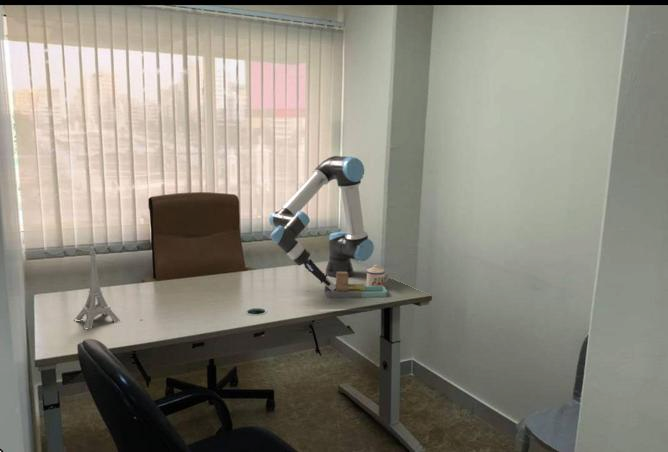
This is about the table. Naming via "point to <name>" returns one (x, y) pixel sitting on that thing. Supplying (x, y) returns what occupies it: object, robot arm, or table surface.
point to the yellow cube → (360, 287)
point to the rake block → (341, 281)
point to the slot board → (341, 293)
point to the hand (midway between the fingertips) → (334, 289)
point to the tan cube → (351, 287)
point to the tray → (375, 294)
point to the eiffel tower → (95, 293)
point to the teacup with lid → (376, 276)
